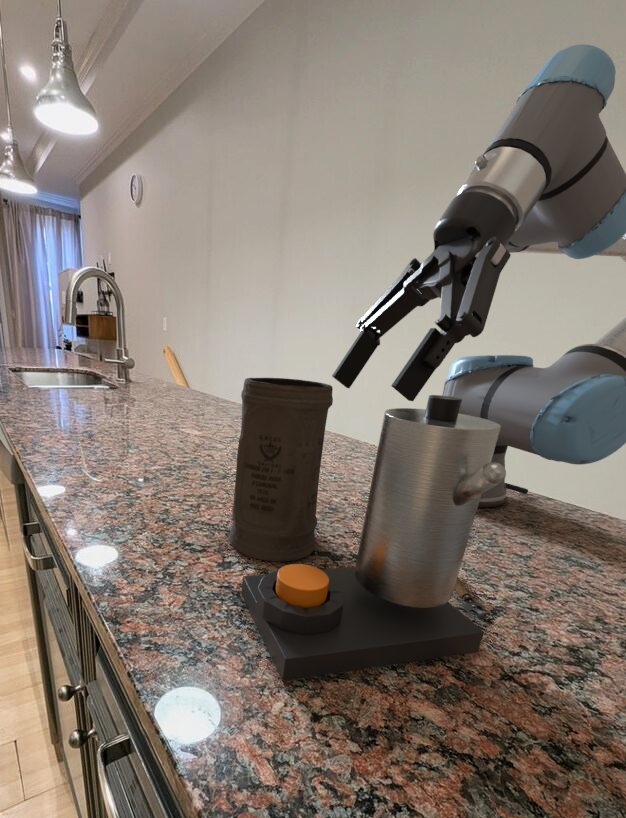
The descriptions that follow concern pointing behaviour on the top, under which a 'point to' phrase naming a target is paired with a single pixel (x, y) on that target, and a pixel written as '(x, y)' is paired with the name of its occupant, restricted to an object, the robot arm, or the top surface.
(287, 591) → the kettle button
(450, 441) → the kettle
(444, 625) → the kettle base
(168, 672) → the top surface
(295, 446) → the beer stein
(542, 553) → the top surface
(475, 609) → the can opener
